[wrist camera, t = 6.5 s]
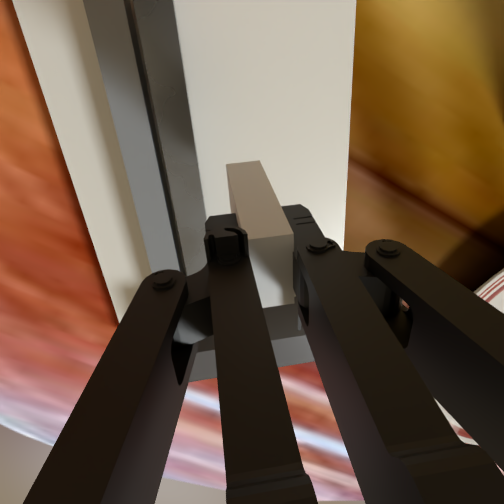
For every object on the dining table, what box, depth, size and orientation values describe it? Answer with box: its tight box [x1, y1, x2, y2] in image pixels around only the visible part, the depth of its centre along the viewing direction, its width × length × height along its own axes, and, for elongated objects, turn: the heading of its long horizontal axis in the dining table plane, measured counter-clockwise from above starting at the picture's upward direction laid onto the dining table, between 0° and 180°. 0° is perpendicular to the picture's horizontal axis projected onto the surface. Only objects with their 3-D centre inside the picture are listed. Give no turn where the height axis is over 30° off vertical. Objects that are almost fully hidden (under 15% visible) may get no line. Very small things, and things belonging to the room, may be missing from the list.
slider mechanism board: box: [12, 0, 356, 382], centre depth 21 cm, size 28×16×6 cm, turn 4°
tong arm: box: [133, 0, 207, 276], centre depth 22 cm, size 17×2×2 cm, turn 4°
